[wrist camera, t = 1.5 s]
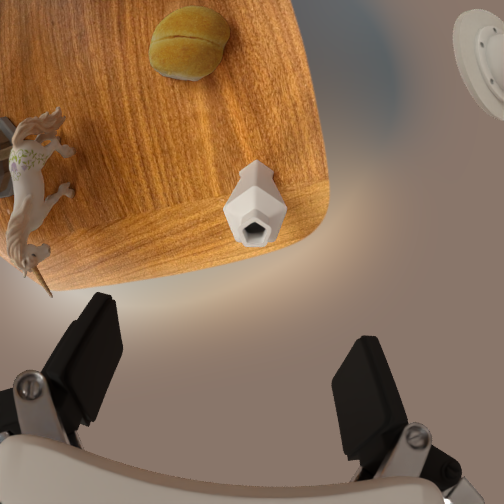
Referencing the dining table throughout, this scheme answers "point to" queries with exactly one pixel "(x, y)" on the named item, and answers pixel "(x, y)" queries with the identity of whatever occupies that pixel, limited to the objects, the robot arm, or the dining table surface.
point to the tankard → (6, 156)
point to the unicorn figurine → (33, 189)
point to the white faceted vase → (255, 207)
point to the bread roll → (189, 43)
